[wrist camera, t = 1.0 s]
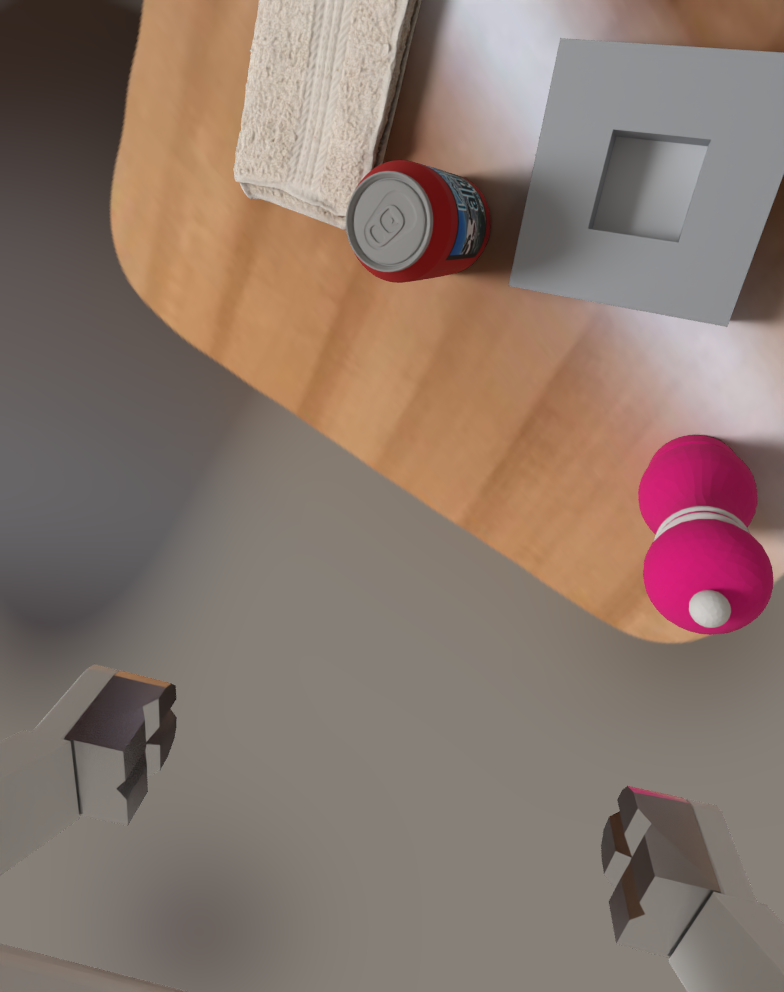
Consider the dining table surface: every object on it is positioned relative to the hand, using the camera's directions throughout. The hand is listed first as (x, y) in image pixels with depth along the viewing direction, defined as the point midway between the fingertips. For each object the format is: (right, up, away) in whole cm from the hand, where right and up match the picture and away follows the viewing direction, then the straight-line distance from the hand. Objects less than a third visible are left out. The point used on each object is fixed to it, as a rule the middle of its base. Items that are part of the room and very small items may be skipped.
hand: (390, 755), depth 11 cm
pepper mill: (+22, +6, +34) cm, 42 cm away
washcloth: (-5, +35, +35) cm, 50 cm away
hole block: (+17, +25, +29) cm, 42 cm away
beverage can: (+4, +25, +35) cm, 43 cm away
